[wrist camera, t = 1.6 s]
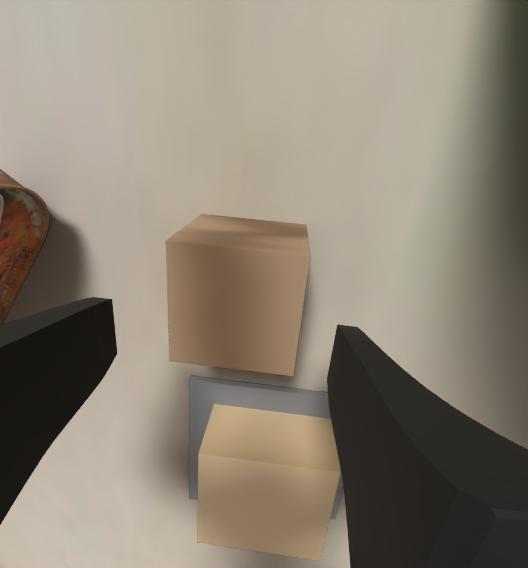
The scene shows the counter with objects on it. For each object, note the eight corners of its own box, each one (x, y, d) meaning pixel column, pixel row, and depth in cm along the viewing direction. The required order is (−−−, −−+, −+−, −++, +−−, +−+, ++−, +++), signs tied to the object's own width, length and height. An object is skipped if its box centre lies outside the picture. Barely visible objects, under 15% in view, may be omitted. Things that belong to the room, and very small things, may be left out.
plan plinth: (363, 397, 20) (378, 454, 16) (334, 513, 23) (341, 580, 20) (191, 375, 20) (168, 426, 16) (190, 492, 24) (172, 555, 20)
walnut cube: (306, 224, 16) (310, 256, 12) (293, 317, 18) (293, 376, 14) (202, 213, 16) (165, 240, 12) (201, 306, 18) (169, 361, 14)
